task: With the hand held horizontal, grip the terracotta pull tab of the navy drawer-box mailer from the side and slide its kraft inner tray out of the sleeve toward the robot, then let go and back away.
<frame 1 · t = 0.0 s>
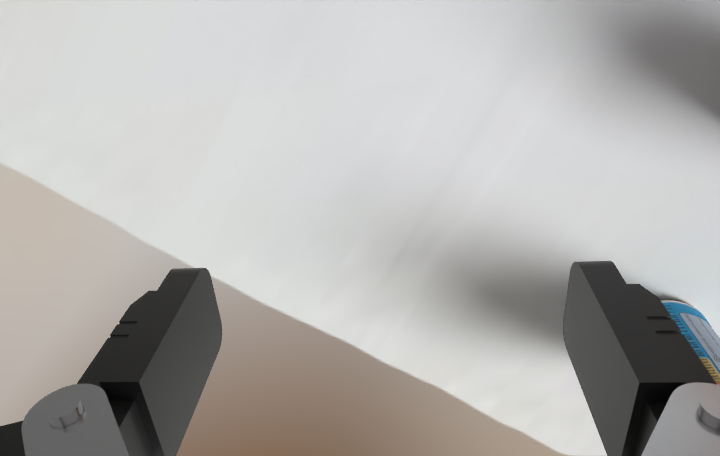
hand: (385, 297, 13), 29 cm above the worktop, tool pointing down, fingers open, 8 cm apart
beverage bottle: (653, 333, 49), on the worktop
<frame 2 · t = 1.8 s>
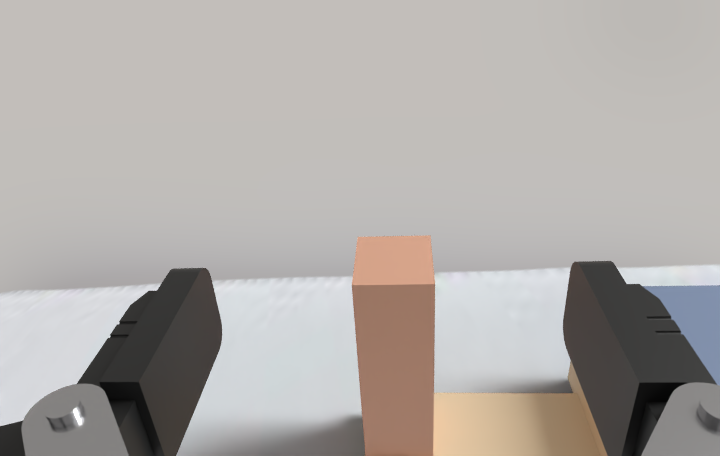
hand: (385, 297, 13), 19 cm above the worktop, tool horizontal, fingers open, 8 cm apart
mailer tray: (592, 355, 27), point 7 cm above the worktop, slide at 1.5 cm
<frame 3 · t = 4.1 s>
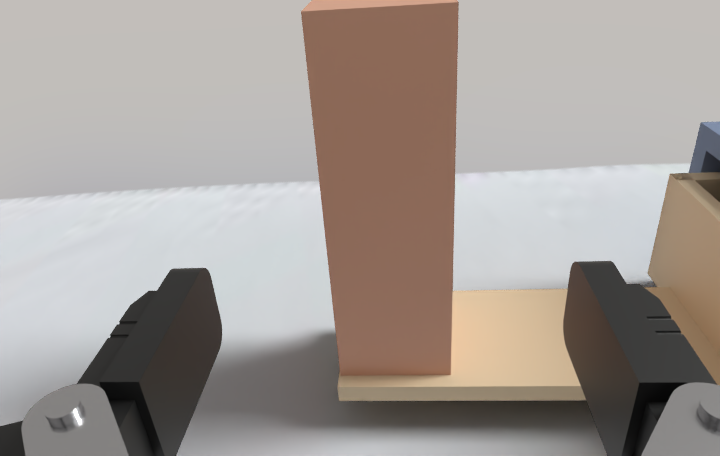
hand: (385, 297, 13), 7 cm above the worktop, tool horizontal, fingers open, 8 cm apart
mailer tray: (719, 190, 16), point 7 cm above the worktop, slide at 1.5 cm
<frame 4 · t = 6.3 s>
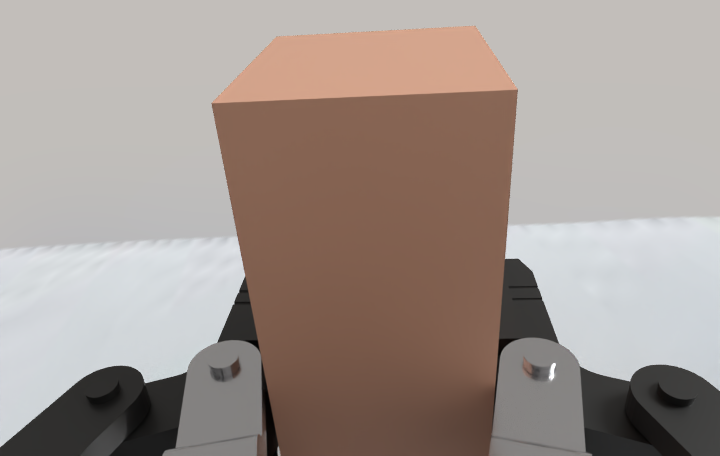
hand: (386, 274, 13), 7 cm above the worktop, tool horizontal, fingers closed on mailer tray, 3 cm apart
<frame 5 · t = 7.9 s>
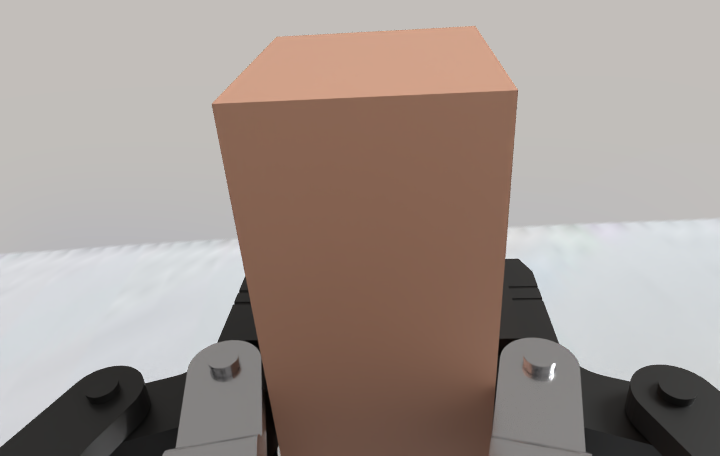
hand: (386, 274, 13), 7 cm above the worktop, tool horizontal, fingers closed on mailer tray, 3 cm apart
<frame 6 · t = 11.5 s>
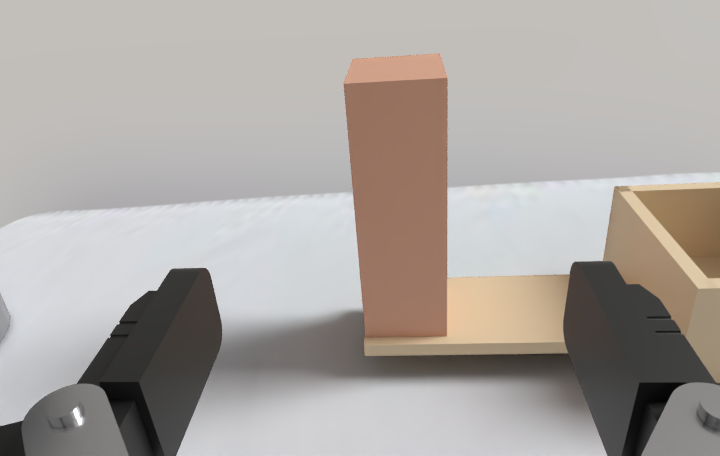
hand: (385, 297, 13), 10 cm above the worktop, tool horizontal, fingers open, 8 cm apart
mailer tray: (638, 199, 23), point 7 cm above the worktop, slide at 7.5 cm
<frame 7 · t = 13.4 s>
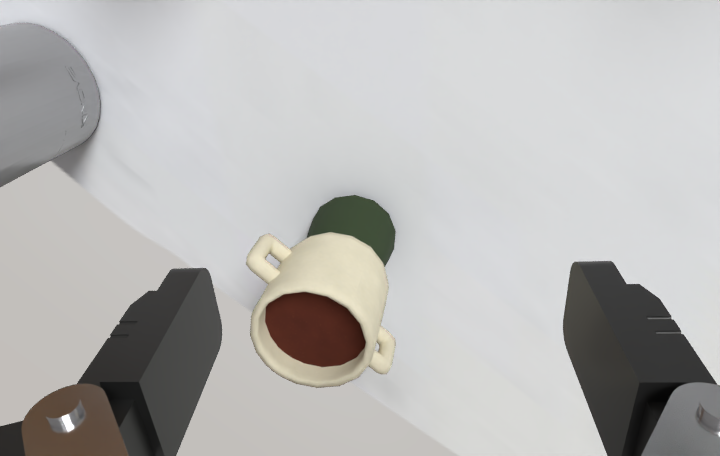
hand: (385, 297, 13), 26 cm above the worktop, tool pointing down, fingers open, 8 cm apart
character mug: (355, 228, 42), on the worktop
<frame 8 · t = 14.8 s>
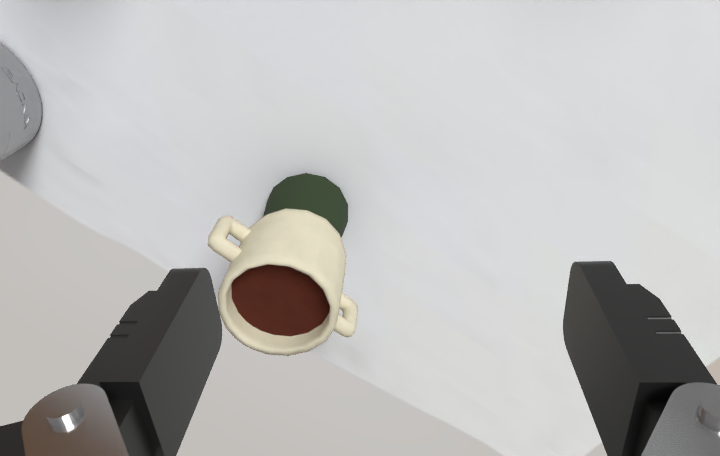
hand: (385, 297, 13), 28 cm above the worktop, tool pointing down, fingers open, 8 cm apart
character mug: (309, 205, 44), on the worktop
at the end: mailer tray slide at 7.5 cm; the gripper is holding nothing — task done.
